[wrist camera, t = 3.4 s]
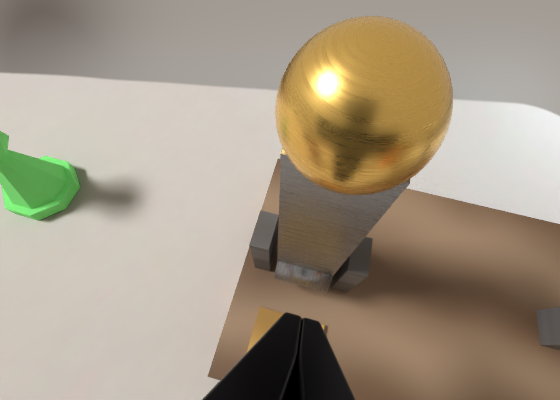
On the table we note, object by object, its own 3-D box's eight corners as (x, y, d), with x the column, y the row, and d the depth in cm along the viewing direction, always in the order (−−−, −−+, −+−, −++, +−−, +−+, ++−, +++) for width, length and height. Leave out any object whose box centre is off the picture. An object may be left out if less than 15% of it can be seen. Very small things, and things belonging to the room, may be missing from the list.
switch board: (646, 507, 13) (890, 614, 8) (215, 372, 15) (184, 387, 10) (594, 250, 18) (722, 212, 13) (277, 175, 20) (278, 116, 15)
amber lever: (327, 300, 14) (506, 147, 3) (267, 283, 15) (246, 92, 4) (338, 242, 16) (494, -8, 5) (283, 228, 16) (302, -40, 5)
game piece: (1, 224, 18) (-111, 173, 13) (19, 164, 20) (-72, 99, 15) (74, 217, 19) (-6, 165, 13) (85, 159, 21) (19, 93, 15)
